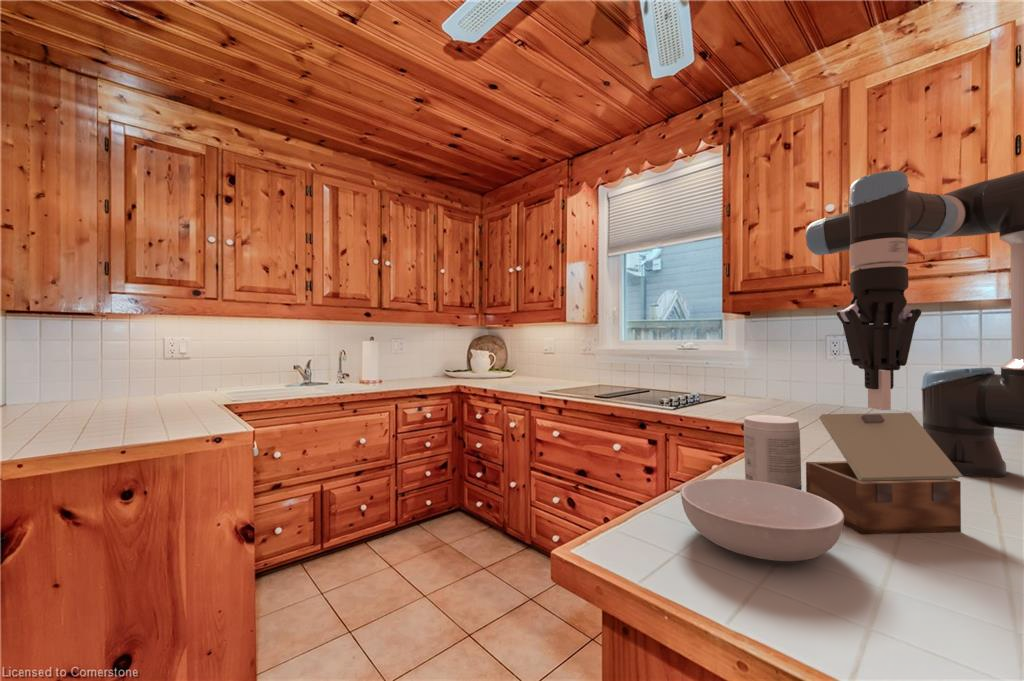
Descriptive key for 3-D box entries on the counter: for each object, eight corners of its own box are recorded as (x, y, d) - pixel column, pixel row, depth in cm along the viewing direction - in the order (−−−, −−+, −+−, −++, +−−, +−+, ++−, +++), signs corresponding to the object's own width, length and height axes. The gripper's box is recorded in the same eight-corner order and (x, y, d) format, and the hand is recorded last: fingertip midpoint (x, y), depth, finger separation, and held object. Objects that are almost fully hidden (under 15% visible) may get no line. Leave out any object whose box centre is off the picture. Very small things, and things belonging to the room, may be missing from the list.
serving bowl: (874, 557, 61) (873, 507, 61) (790, 602, 50) (790, 543, 50) (734, 507, 79) (733, 469, 79) (651, 534, 68) (651, 490, 68)
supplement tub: (807, 493, 86) (806, 418, 86) (794, 506, 79) (793, 425, 79) (753, 481, 93) (752, 412, 93) (737, 492, 86) (736, 418, 86)
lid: (906, 416, 77) (913, 410, 75) (957, 478, 68) (966, 472, 67) (818, 417, 76) (824, 411, 75) (859, 480, 68) (866, 475, 66)
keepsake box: (890, 503, 80) (890, 460, 80) (962, 532, 68) (962, 481, 68) (806, 505, 79) (806, 462, 79) (863, 535, 67) (862, 484, 67)
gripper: (859, 264, 69) (860, 412, 69) (938, 264, 70) (939, 411, 70) (823, 271, 77) (824, 405, 77) (894, 271, 77) (895, 404, 77)
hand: (879, 408), depth 73 cm, fingers closed
